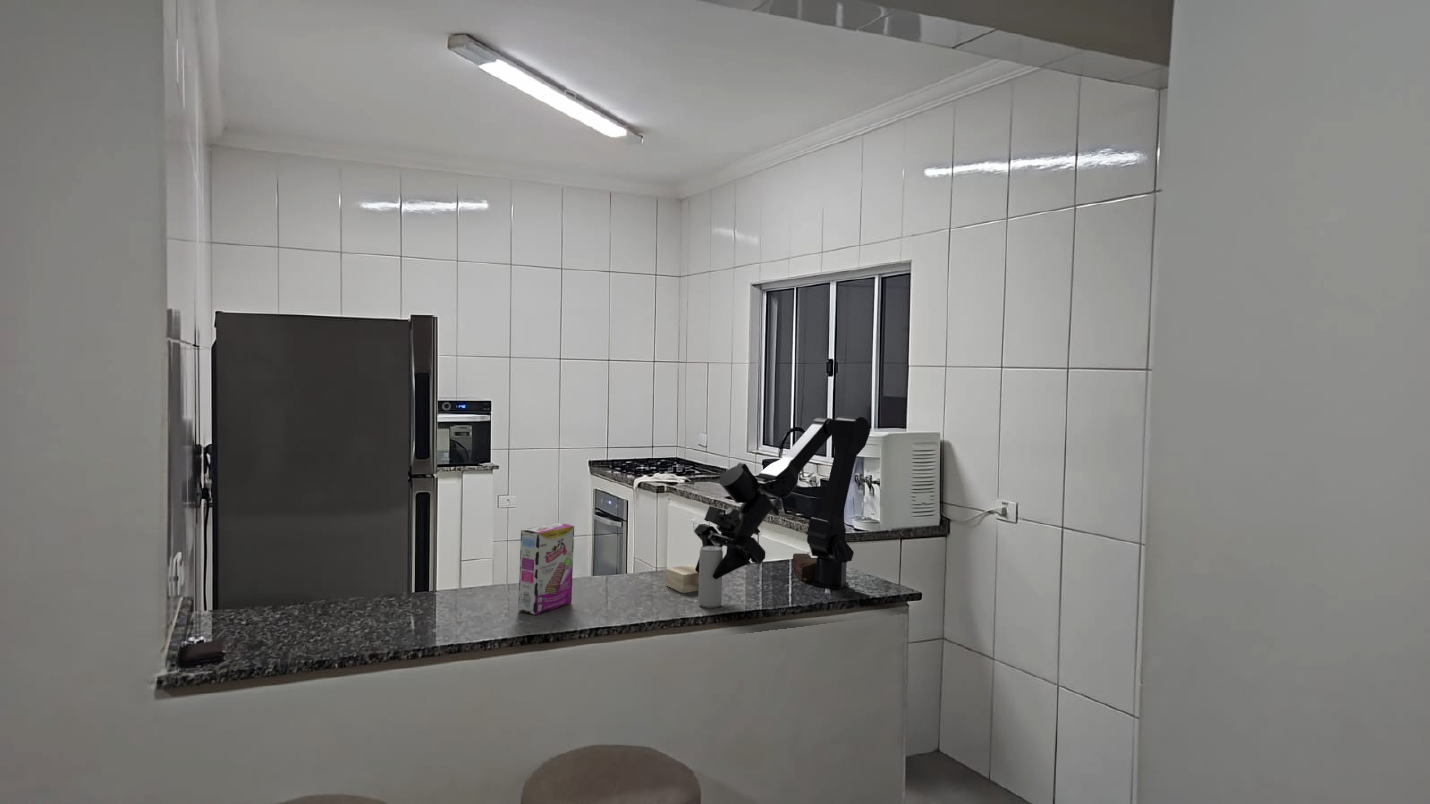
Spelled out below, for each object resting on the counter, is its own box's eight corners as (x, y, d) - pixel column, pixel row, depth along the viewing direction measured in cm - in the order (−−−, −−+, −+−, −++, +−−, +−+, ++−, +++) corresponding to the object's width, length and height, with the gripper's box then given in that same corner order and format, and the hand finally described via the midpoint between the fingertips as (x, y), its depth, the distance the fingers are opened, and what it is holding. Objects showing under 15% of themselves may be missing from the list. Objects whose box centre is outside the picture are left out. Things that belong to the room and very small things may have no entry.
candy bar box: (536, 616, 172) (538, 532, 172) (517, 611, 175) (518, 529, 174) (573, 603, 182) (575, 524, 181) (555, 599, 184) (556, 521, 184)
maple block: (691, 582, 202) (691, 564, 202) (709, 588, 197) (709, 571, 196) (665, 585, 198) (665, 568, 198) (682, 593, 192) (683, 574, 192)
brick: (791, 571, 216) (792, 552, 216) (807, 571, 216) (808, 552, 216) (801, 582, 205) (801, 563, 205) (817, 582, 206) (818, 562, 206)
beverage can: (695, 603, 185) (696, 546, 184) (716, 601, 186) (718, 545, 186) (702, 609, 180) (704, 551, 180) (724, 607, 182) (726, 549, 181)
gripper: (702, 486, 192) (658, 541, 186) (755, 498, 177) (709, 559, 171) (730, 519, 197) (688, 574, 191) (784, 534, 182) (740, 594, 176)
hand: (705, 574), depth 182 cm, fingers open, 6 cm apart
